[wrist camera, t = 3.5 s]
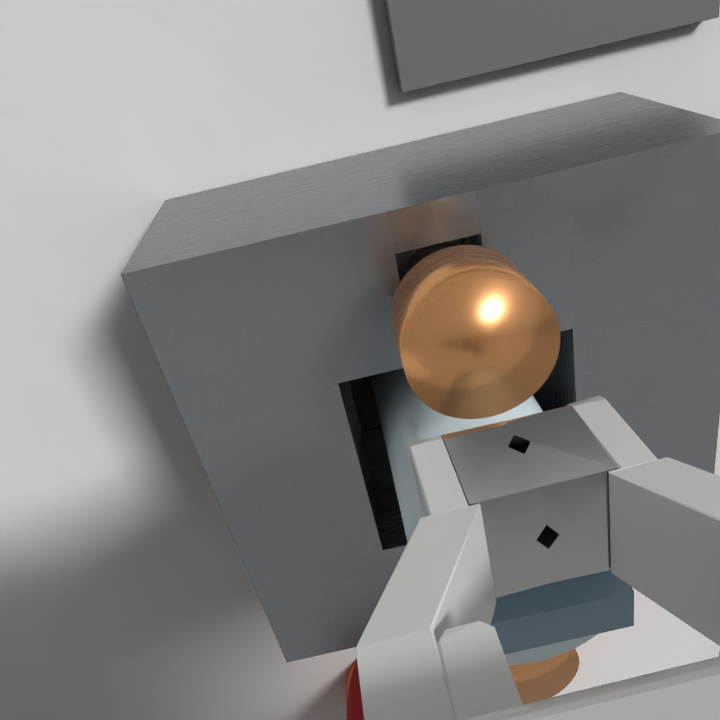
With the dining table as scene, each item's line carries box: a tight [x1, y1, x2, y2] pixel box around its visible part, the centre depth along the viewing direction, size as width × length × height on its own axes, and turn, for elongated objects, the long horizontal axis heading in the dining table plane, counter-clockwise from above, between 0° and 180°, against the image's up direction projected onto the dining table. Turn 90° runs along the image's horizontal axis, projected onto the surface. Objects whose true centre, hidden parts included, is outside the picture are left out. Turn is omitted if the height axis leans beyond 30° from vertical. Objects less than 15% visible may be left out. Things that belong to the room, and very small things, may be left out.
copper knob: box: [509, 648, 579, 705], centre depth 19 cm, size 3×3×4 cm
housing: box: [121, 92, 720, 662], centre depth 20 cm, size 14×14×6 cm
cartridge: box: [370, 368, 634, 665], centre depth 18 cm, size 4×4×12 cm
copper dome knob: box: [390, 242, 560, 419], centre depth 14 cm, size 3×3×4 cm
